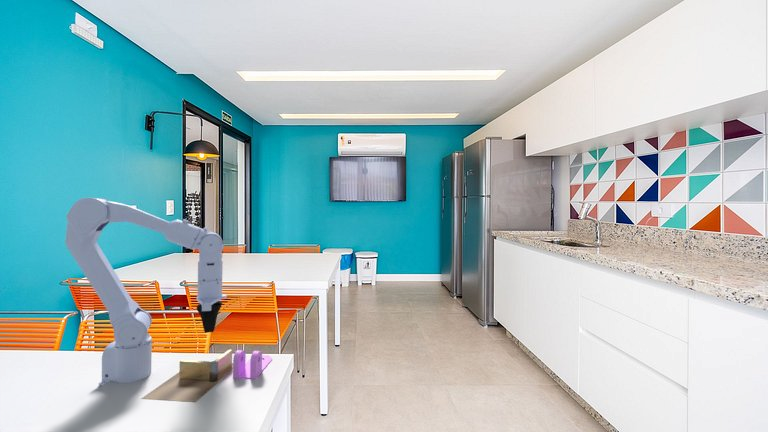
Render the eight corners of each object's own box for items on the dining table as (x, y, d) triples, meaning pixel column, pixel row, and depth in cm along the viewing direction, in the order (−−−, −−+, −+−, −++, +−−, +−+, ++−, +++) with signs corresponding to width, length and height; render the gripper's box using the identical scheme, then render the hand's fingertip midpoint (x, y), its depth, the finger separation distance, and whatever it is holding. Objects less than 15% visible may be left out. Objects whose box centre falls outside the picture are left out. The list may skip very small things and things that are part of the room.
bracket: (255, 383, 86) (256, 354, 86) (232, 382, 87) (233, 353, 86) (274, 360, 99) (275, 335, 99) (254, 359, 100) (255, 334, 99)
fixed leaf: (207, 381, 84) (208, 363, 84) (227, 365, 93) (227, 349, 93) (215, 382, 84) (215, 364, 84) (233, 366, 93) (234, 349, 93)
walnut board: (141, 403, 76) (141, 398, 76) (195, 364, 95) (195, 360, 95) (195, 406, 76) (195, 402, 75) (239, 367, 94) (239, 363, 94)
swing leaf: (181, 376, 86) (181, 359, 86) (209, 378, 86) (209, 361, 85) (179, 378, 85) (179, 361, 85) (207, 379, 85) (208, 362, 85)
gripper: (224, 284, 88) (224, 339, 88) (228, 273, 102) (228, 321, 102) (192, 285, 86) (191, 342, 86) (200, 274, 99) (200, 323, 100)
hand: (209, 331), depth 94 cm, fingers closed
